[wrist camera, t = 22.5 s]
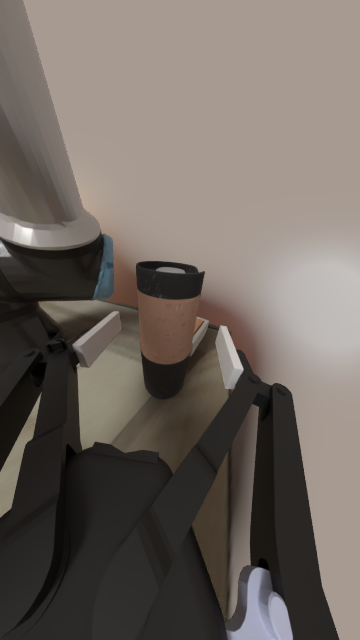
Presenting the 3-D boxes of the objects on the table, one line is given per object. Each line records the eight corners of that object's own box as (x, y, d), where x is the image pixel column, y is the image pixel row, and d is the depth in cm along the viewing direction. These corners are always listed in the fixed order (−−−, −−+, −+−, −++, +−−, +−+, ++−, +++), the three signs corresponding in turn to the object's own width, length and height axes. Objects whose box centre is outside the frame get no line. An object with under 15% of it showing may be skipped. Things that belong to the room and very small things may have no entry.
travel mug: (133, 384, 23) (117, 262, 13) (160, 358, 29) (164, 259, 19) (169, 411, 20) (184, 278, 10) (191, 375, 26) (215, 269, 16)
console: (149, 338, 34) (149, 325, 32) (172, 319, 44) (173, 309, 42) (190, 356, 30) (193, 343, 28) (206, 331, 40) (209, 320, 38)
